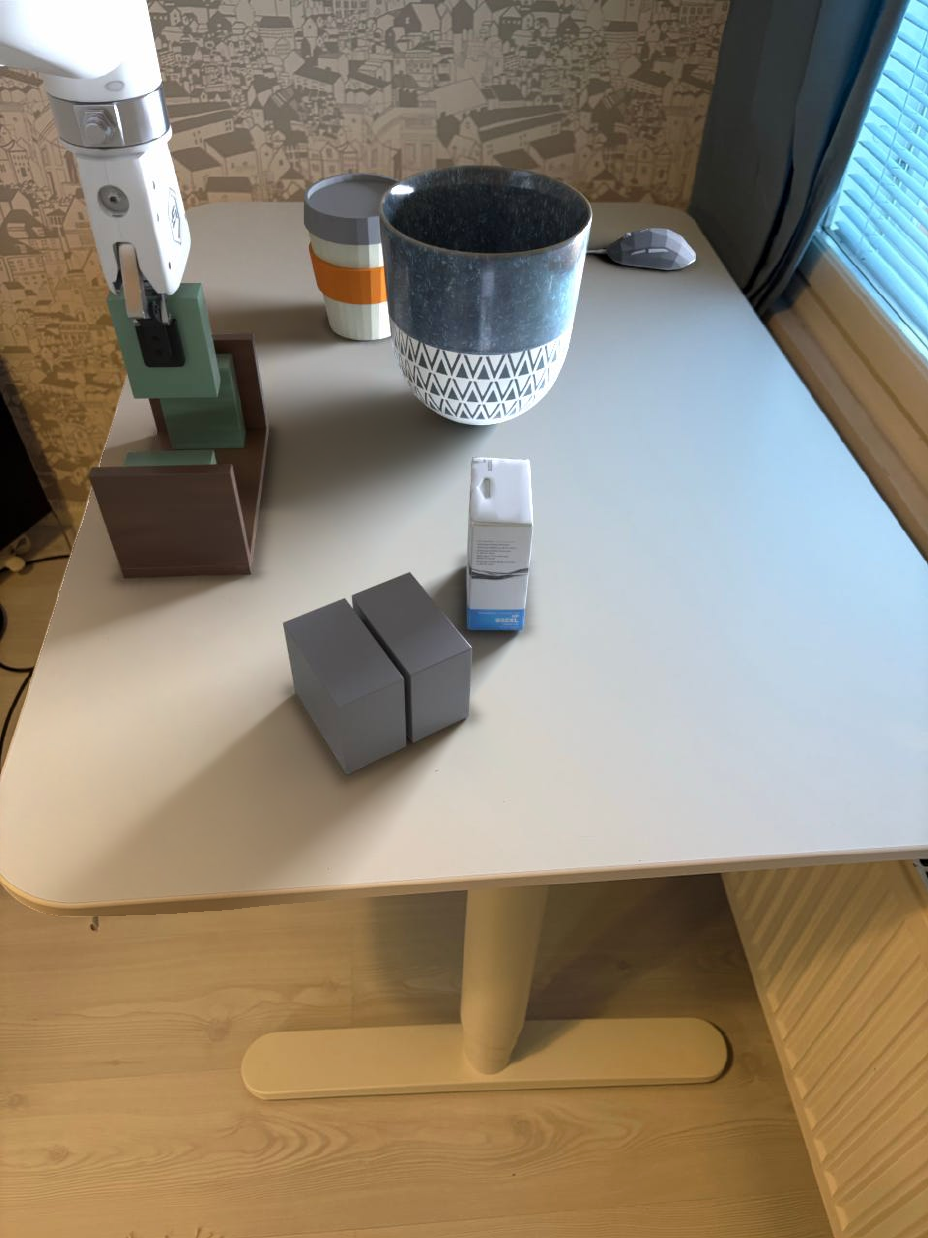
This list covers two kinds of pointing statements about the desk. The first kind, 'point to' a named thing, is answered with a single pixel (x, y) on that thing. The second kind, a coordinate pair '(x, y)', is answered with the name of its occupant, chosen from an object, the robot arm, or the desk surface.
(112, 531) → the book rack
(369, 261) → the reusable coffee cup
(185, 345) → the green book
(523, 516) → the ink box
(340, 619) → the grey blocks
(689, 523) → the desk surface
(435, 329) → the planter
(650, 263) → the gaming mouse
